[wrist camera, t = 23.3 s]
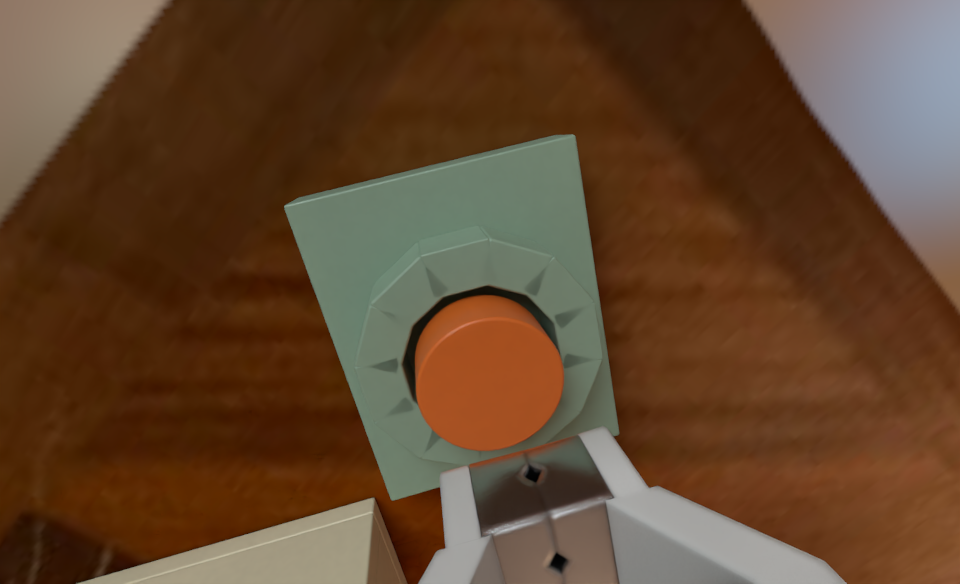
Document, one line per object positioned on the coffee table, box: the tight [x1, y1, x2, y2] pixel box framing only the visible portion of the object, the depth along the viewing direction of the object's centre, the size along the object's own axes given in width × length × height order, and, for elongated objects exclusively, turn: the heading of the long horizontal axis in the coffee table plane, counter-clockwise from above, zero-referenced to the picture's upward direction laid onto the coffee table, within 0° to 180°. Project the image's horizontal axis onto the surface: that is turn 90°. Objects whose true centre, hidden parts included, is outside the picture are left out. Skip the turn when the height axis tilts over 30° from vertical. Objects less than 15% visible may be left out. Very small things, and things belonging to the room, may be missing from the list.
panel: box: [284, 135, 619, 501], centre depth 14 cm, size 10×8×4 cm
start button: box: [415, 295, 564, 451], centre depth 12 cm, size 4×4×2 cm
